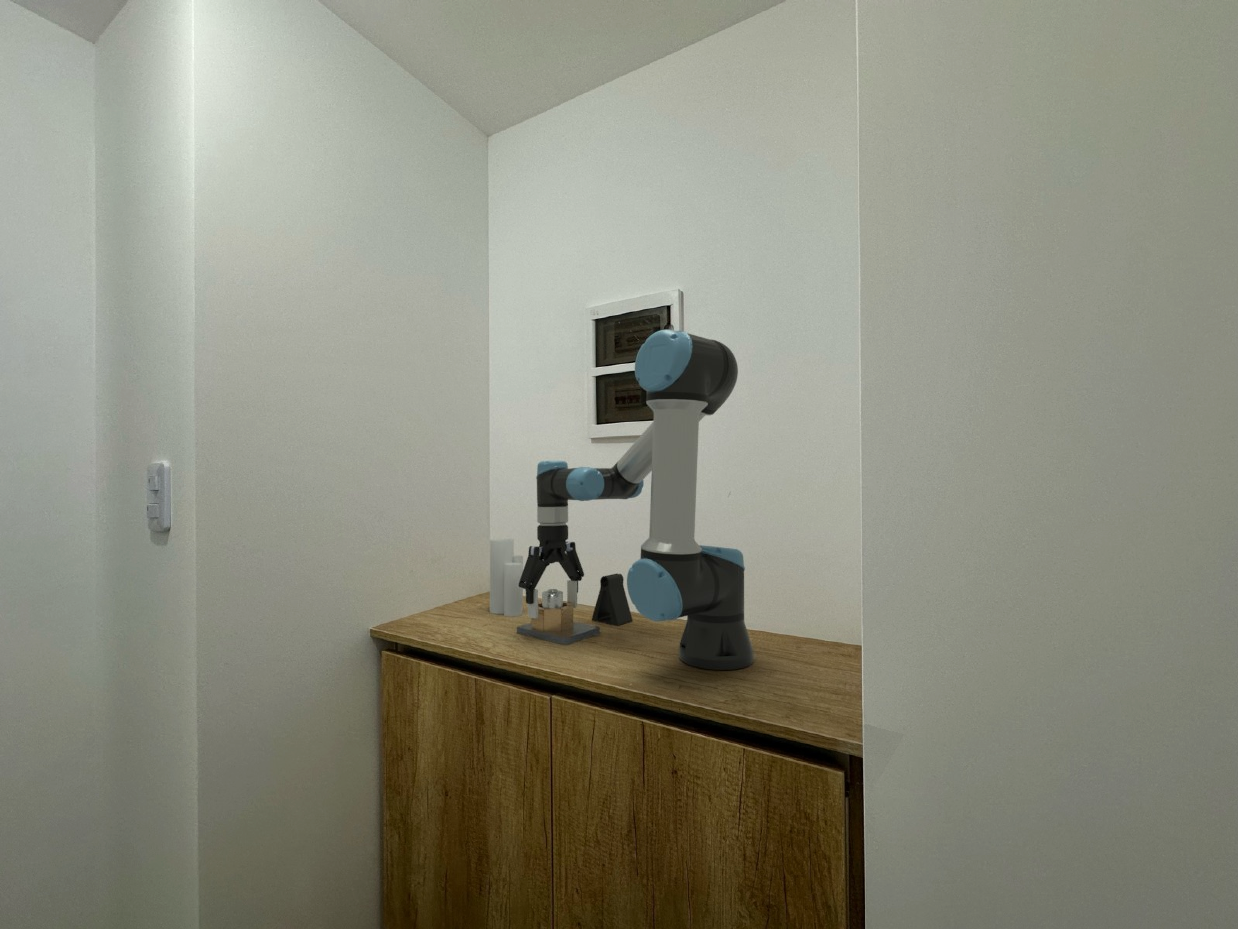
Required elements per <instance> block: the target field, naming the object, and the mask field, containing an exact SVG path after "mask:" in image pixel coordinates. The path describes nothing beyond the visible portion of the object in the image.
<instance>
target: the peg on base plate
mask: <svg viewBox="0 0 1238 929" xmlns="http://www.w3.org/2000/svg"><path fill="white" fill-rule="evenodd" d="M541 597H542V598H541V601H542V608H561V607H563V601H564V591H562V590H559V589H556V588H548V589H547V590H545V591H542V592H541ZM516 634H519V635H522V636H527V637H530V638H531V637H532V638H535V639H540V640H544V641H548V642H552V643H555V644H560V645H564V646H567V645H570V644H573V643H575V642H579V641H583V640H584V639H588V638H590V637H593V636H596V635H600V634H601V627H600V626H597V625H591V624H587V623H582V622H577V621H573V628H569V629H566V630H563V631H545V632H544V631H539V630H535V629H531V622H530V623H526V624H523V625H519V626H516Z"/></svg>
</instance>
